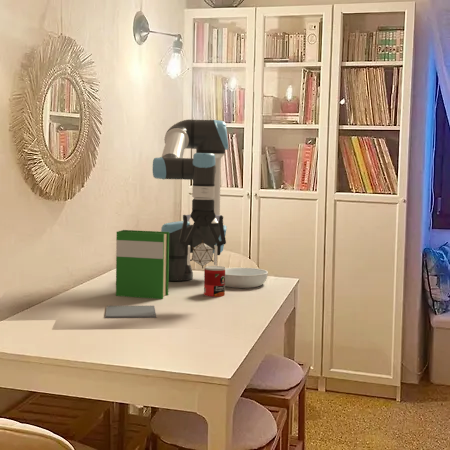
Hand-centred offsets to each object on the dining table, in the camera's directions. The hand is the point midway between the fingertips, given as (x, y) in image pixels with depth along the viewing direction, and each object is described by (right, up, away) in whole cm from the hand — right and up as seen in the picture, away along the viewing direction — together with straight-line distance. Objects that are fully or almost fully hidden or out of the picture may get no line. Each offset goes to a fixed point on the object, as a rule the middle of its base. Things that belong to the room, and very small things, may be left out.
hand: (202, 264), depth 243 cm
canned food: (+4, -13, +22) cm, 26 cm away
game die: (0, -2, 0) cm, 2 cm away
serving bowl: (+14, -12, +41) cm, 45 cm away
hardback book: (-23, -13, +18) cm, 32 cm away
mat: (-23, -15, -9) cm, 29 cm away
